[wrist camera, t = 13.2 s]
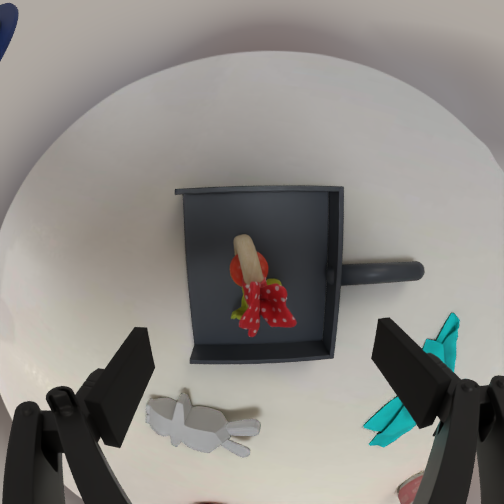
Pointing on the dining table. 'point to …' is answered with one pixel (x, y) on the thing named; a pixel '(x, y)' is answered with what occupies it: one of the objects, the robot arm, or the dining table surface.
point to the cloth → (394, 413)
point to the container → (410, 489)
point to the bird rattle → (257, 289)
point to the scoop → (272, 269)
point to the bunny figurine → (198, 425)
